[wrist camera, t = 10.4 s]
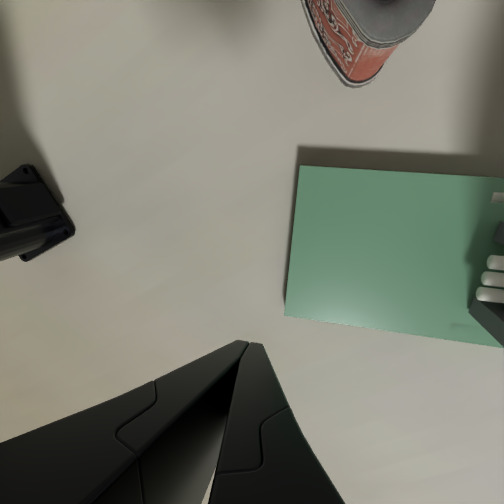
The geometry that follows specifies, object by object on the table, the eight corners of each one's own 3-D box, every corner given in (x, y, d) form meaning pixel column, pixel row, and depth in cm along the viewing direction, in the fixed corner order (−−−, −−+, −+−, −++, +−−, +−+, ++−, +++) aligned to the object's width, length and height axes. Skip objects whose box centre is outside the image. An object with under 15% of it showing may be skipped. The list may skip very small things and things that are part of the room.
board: (285, 307, 23) (284, 315, 22) (300, 165, 19) (299, 165, 18) (557, 346, 20) (572, 358, 19) (636, 185, 16) (660, 188, 15)
